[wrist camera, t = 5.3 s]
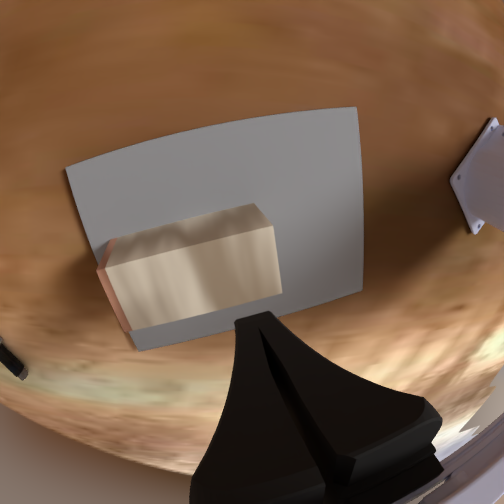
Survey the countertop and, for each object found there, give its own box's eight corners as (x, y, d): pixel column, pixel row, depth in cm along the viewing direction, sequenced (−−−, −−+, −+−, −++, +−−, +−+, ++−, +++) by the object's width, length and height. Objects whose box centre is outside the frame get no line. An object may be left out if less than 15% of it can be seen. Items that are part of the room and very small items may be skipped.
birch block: (273, 225, 15) (96, 270, 14) (282, 292, 17) (124, 332, 16) (253, 202, 18) (110, 239, 17) (263, 260, 20) (131, 293, 19)
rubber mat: (352, 106, 18) (356, 106, 17) (359, 287, 24) (362, 290, 24) (68, 166, 15) (65, 167, 15) (139, 347, 22) (138, 351, 21)
